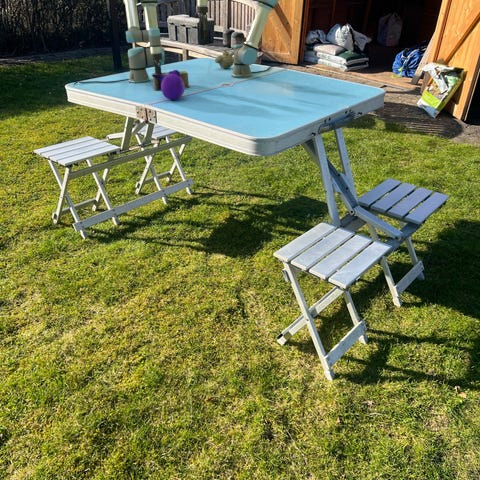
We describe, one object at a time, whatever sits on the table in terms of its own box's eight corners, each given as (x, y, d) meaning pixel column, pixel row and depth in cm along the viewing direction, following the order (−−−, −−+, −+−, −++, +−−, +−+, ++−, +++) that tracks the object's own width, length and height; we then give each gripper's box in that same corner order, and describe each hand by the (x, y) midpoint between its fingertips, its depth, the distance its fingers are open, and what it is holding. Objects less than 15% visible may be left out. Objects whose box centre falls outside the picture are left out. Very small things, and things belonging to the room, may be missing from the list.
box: (155, 90, 310) (154, 75, 305) (154, 88, 317) (152, 73, 312) (188, 87, 316) (187, 73, 311) (186, 85, 323) (185, 71, 318)
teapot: (218, 70, 370) (218, 51, 363) (212, 68, 379) (211, 49, 371) (241, 68, 380) (240, 48, 372) (234, 66, 388) (233, 47, 381)
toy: (175, 91, 304) (184, 105, 283) (149, 87, 296) (157, 101, 276) (179, 67, 296) (189, 80, 275) (153, 62, 288) (161, 75, 268)
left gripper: (164, 54, 295) (167, 90, 306) (159, 50, 312) (162, 84, 324) (152, 55, 293) (156, 91, 304) (148, 51, 310) (152, 85, 322)
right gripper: (212, 7, 296) (213, 41, 306) (203, 5, 316) (205, 38, 327) (201, 7, 294) (203, 42, 305) (193, 5, 314) (195, 38, 325)
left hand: (159, 87), depth 314 cm, fingers closed on box, 8 cm apart
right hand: (204, 40), depth 316 cm, fingers open, 13 cm apart
